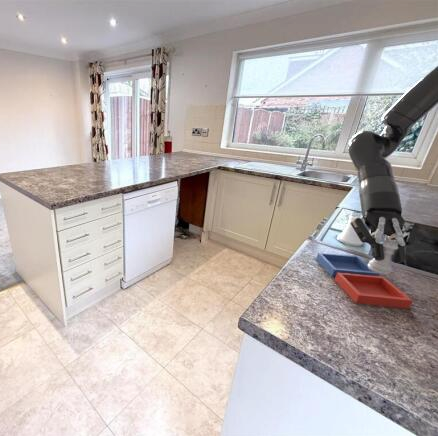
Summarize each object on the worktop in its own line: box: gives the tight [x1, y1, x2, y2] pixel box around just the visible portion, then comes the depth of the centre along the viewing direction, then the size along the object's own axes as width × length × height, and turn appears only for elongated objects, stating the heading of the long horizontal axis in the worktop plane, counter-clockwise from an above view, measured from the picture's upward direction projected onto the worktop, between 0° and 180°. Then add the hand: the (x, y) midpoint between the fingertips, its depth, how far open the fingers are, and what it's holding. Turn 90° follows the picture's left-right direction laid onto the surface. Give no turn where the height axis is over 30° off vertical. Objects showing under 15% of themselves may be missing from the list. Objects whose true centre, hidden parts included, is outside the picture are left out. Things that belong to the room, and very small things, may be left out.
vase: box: [336, 213, 363, 247], centre depth 90 cm, size 8×8×10 cm
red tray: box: [334, 273, 414, 309], centre depth 64 cm, size 12×10×2 cm
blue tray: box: [315, 252, 380, 278], centre depth 74 cm, size 12×10×2 cm
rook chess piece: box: [367, 239, 398, 276], centre depth 60 cm, size 4×4×8 cm
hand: (389, 260), depth 58 cm, fingers closed on rook chess piece, 3 cm apart
